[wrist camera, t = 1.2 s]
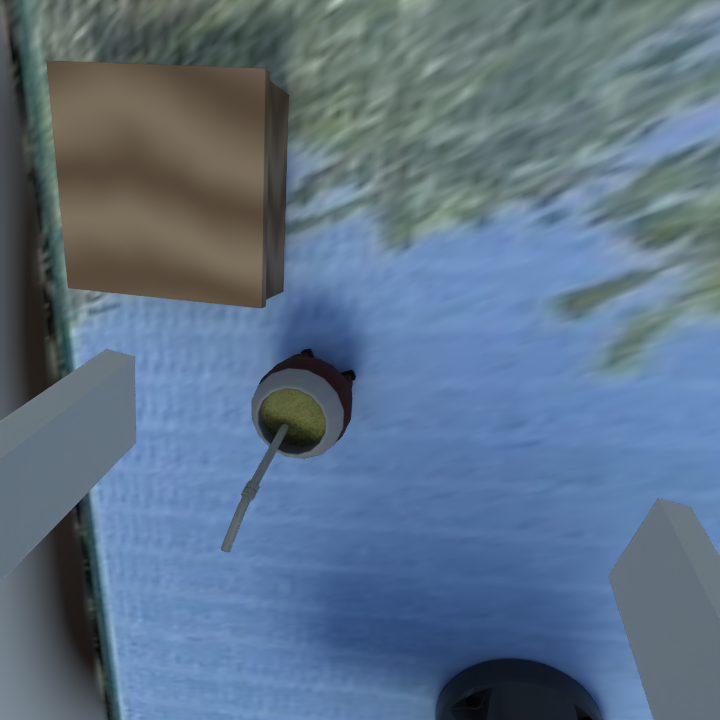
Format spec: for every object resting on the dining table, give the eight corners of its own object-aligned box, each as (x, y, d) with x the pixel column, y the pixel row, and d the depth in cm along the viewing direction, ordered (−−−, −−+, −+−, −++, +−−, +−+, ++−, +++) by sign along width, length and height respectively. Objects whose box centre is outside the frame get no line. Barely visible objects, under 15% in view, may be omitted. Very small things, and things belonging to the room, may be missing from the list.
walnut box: (288, 295, 40) (261, 308, 35) (119, 278, 42) (68, 288, 37) (294, 91, 36) (265, 68, 30) (106, 83, 38) (46, 60, 32)
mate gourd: (344, 331, 40) (287, 396, 26) (377, 421, 42) (341, 528, 27) (261, 358, 42) (165, 432, 28) (295, 443, 43) (221, 555, 29)
